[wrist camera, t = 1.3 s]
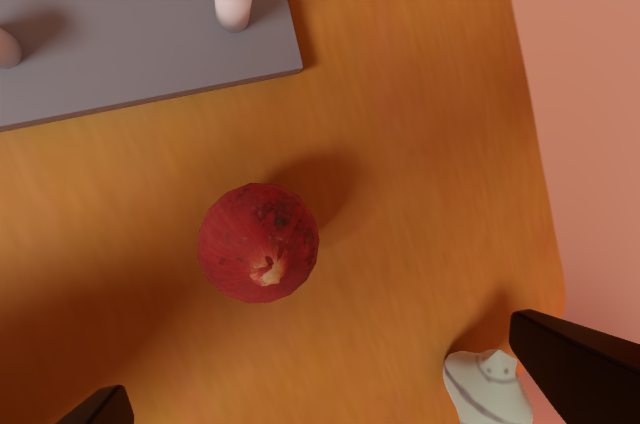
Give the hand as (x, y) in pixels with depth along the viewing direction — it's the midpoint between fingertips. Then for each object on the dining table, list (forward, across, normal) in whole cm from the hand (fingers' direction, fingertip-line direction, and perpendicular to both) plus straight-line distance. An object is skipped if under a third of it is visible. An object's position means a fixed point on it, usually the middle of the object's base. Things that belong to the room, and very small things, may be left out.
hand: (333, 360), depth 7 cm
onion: (+13, +3, 0) cm, 13 cm away
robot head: (+14, -11, +15) cm, 23 cm away
